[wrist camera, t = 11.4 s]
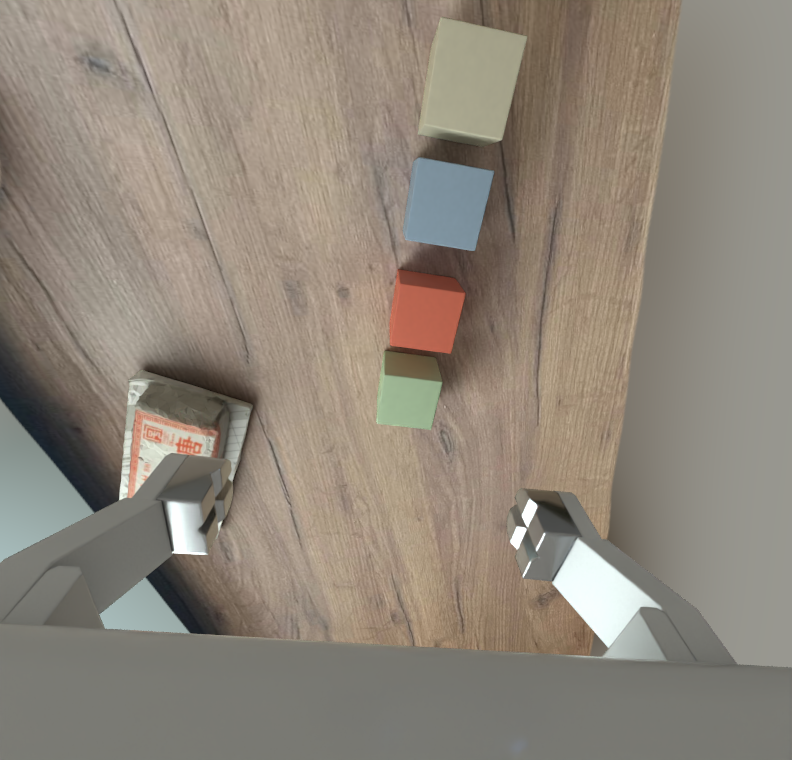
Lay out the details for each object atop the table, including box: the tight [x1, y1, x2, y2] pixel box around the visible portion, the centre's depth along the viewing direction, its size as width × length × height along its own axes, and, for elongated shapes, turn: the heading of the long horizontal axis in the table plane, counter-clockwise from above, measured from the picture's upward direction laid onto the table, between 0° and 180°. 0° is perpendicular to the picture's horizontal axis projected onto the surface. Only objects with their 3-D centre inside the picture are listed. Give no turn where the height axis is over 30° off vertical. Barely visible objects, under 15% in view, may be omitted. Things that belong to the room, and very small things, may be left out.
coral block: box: [390, 269, 466, 353], centre depth 27 cm, size 4×4×4 cm
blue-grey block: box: [403, 157, 494, 251], centre depth 24 cm, size 4×4×4 cm
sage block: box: [376, 351, 443, 430], centre depth 31 cm, size 4×4×4 cm
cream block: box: [418, 17, 527, 147], centre depth 21 cm, size 4×4×4 cm
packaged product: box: [119, 370, 253, 538], centre depth 34 cm, size 18×5×10 cm
